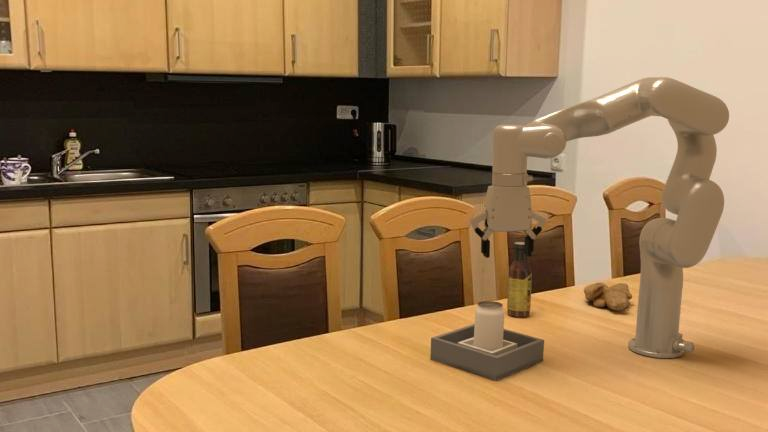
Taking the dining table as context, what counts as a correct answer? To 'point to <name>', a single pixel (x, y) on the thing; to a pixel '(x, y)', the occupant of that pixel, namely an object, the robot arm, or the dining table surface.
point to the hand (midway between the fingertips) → (507, 256)
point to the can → (489, 325)
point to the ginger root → (608, 295)
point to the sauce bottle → (519, 283)
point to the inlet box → (487, 353)
